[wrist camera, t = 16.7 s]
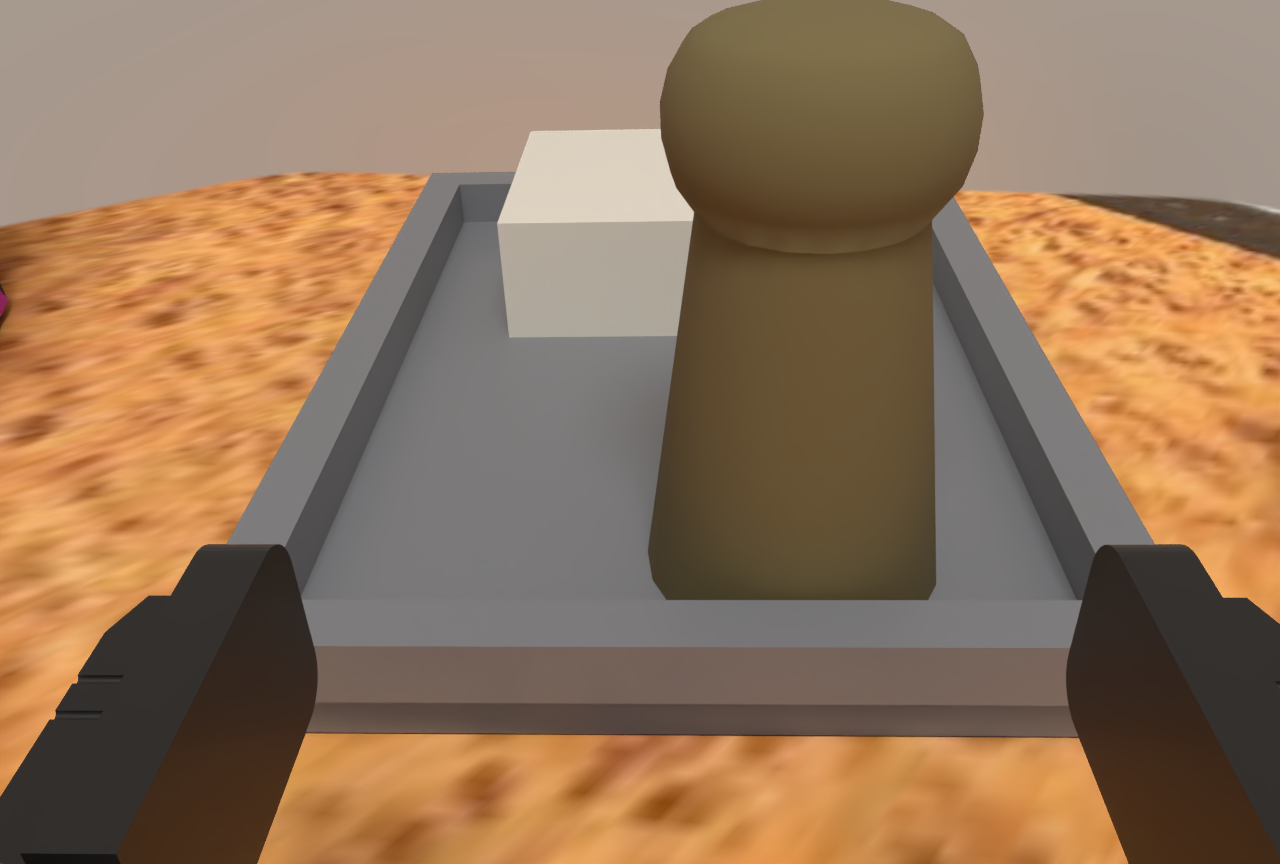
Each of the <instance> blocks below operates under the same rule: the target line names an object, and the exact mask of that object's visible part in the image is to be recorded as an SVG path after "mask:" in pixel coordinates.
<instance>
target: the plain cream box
mask: <svg viewBox="0 0 1280 864" xmlns="http://www.w3.org/2000/svg"><path fill="white" fill-rule="evenodd" d="M693 216H694V211H693V210H692V209H691V207H690V206H689V205H688V203H687V202H686V201H685V199H684V198H683V197H682V195H681V194H680V192H679V191H678V190H677V188H676V186H675V183H674V180H673V178H672V175H671V172H670V169H669V165H668V161H667V158H666V154H665V150H664V147H663V143H662V139H661V129H635V130H634V129H633V130H575V131H531V133H530V135H529V138H528V141H527V144H526V146H525V149H524V152H523V155H522V157H521V160H520V163H519V165H518V168H517V171H516V174H515V176H514V179H513V182H512V184H511V187H510V190H509V193H508V195H507V198H506V201H505V203H504V206H503V209H502V212H501V214H500V217H499V220H498V222H497V227H498V237H499V246H500V256H501V265H502V275H503V285H504V294H505V304H506V313H507V323H508V332H509V338H512V337H621V336H677V333H678V326H679V318H680V311H681V304H682V296H683V289H684V282H685V274H686V267H687V260H688V252H689V245H690V238H691V230H692V223H693Z"/></svg>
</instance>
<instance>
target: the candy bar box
mask: <svg viewBox="0 0 1280 864" xmlns="http://www.w3.org/2000/svg"><path fill="white" fill-rule="evenodd" d="M7 304H8V298H7V296H6V294H5V293H4V291H3V289H2V286H1V284H0V317H1V315H2V313H3V312H4V310H5V308H6V306H7Z"/></svg>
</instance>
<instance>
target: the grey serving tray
mask: <svg viewBox="0 0 1280 864" xmlns="http://www.w3.org/2000/svg"><path fill="white" fill-rule="evenodd" d="M515 174H516V172H484V173H483V172H481V173H432V174H431V176H430V178H429V180H428V181H427V183H426V185H425V187H424V189H423V190H422V192H421V194H420V196H419V198H418V199H417V201H416V203H415V205H414V207H413V208H412V210H411V212H410V214H409V216H408V217H407V219H406V221H405V223H404V225H403V226H402V228H401V230H400V232H399V234H398V236H397V237H396V239H395V241H394V243H393V245H392V246H391V248H390V250H389V252H388V254H387V255H386V257H385V259H384V261H383V263H382V264H381V266H380V268H379V270H378V272H377V273H376V275H375V277H374V279H373V281H372V282H371V284H370V286H369V288H368V290H367V291H366V293H365V295H364V297H363V299H362V300H361V302H360V304H359V306H358V308H357V309H356V311H355V313H354V315H353V317H352V318H351V320H350V322H349V324H348V326H347V328H346V329H345V331H344V333H343V335H342V337H341V338H340V340H339V342H338V344H337V346H336V347H335V349H334V351H333V353H332V355H331V356H330V358H329V360H328V362H327V364H326V365H325V367H324V369H323V371H322V373H321V374H320V376H319V378H318V380H317V382H316V383H315V385H314V387H313V389H312V391H311V392H310V394H309V396H308V398H307V400H306V401H305V403H304V405H303V407H302V409H301V410H300V412H299V414H298V416H297V418H296V420H295V421H294V423H293V425H292V427H291V429H290V430H289V432H288V434H287V436H286V438H285V439H284V441H283V443H282V445H281V447H280V448H279V450H278V452H277V454H276V456H275V457H274V459H273V461H272V463H271V465H270V466H269V468H268V470H267V472H266V474H265V475H264V477H263V479H262V481H261V483H260V484H259V486H258V488H257V490H256V492H255V493H254V495H253V497H252V499H251V501H250V502H249V504H248V506H247V508H246V510H245V512H244V513H243V515H242V517H241V519H240V521H239V522H238V524H237V526H236V528H235V530H234V531H233V533H232V535H231V537H230V539H229V540H228V542H227V544H280V545H282V546H284V547H285V548H286V550H287V551H288V553H289V555H290V558H291V561H292V564H293V568H294V572H295V576H296V580H297V583H298V587H299V591H300V595H301V599H302V603H303V606H304V610H305V614H306V618H307V622H308V626H309V629H310V633H311V637H312V641H313V645H314V648H315V653H316V658H317V668H318V683H317V694H316V701H315V706H314V710H313V714H312V717H311V720H310V723H309V725H308V728H307V731H306V732H334V733H505V734H675V735H846V736H1016V737H1079V736H1078V734H1077V731H1076V729H1075V726H1074V724H1073V721H1072V718H1071V714H1070V710H1069V705H1068V699H1067V690H1066V667H1067V659H1068V654H1069V651H1070V647H1071V643H1072V639H1073V635H1074V631H1075V627H1076V623H1077V619H1078V616H1079V612H1080V608H1081V604H1082V600H1083V596H1084V592H1085V588H1086V585H1087V581H1088V577H1089V573H1090V569H1091V565H1092V562H1093V559H1094V556H1095V554H1096V552H1097V551H1098V549H1099V548H1100V547H1101V546H1103V545H1155V544H1154V542H1153V540H1152V539H1151V537H1150V535H1149V533H1148V532H1147V530H1146V528H1145V526H1144V525H1143V523H1142V521H1141V520H1140V518H1139V516H1138V514H1137V513H1136V511H1135V509H1134V507H1133V506H1132V504H1131V502H1130V501H1129V499H1128V497H1127V495H1126V494H1125V492H1124V490H1123V488H1122V487H1121V485H1120V483H1119V482H1118V480H1117V478H1116V476H1115V475H1114V473H1113V471H1112V469H1111V468H1110V466H1109V464H1108V463H1107V461H1106V459H1105V457H1104V456H1103V454H1102V452H1101V450H1100V449H1099V447H1098V445H1097V444H1096V442H1095V440H1094V438H1093V437H1092V435H1091V433H1090V431H1089V430H1088V428H1087V426H1086V425H1085V423H1084V421H1083V419H1082V418H1081V416H1080V414H1079V412H1078V411H1077V409H1076V407H1075V406H1074V404H1073V402H1072V400H1071V399H1070V397H1069V395H1068V393H1067V392H1066V390H1065V388H1064V387H1063V385H1062V383H1061V381H1060V380H1059V378H1058V376H1057V374H1056V373H1055V371H1054V369H1053V368H1052V366H1051V364H1050V362H1049V361H1048V359H1047V357H1046V355H1045V354H1044V352H1043V350H1042V349H1041V347H1040V345H1039V343H1038V342H1037V340H1036V338H1035V336H1034V335H1033V333H1032V331H1031V329H1030V328H1029V326H1028V324H1027V323H1026V321H1025V319H1024V317H1023V316H1022V314H1021V312H1020V310H1019V309H1018V307H1017V305H1016V304H1015V302H1014V300H1013V298H1012V297H1011V295H1010V293H1009V291H1008V290H1007V288H1006V286H1005V285H1004V283H1003V281H1002V279H1001V278H1000V276H999V274H998V272H997V271H996V269H995V267H994V266H993V264H992V262H991V260H990V259H989V257H988V255H987V253H986V252H985V250H984V248H983V247H982V245H981V243H980V241H979V240H978V238H977V236H976V234H975V233H974V231H973V229H972V228H971V226H970V224H969V222H968V221H967V219H966V217H965V215H964V214H963V212H962V210H961V209H960V207H959V205H958V203H957V202H956V200H955V198H954V197H953V198H952V199H951V200H950V201H949V202H948V203H947V204H946V205H945V207H944V208H943V209H942V210H941V211H940V212H939V213H938V214H937V215H936V216H935V217H934V218H933V220H932V250H933V338H934V427H935V515H936V586H935V588H934V590H933V592H932V594H931V595H930V597H929V599H928V600H666V598H665V597H664V596H663V594H662V593H661V591H660V590H659V588H658V587H657V586H656V584H655V583H654V581H653V579H652V573H651V567H650V562H649V556H648V545H649V538H650V530H651V523H652V516H653V508H654V501H655V494H656V486H657V479H658V472H659V465H660V457H661V450H662V443H663V435H664V428H665V421H666V413H667V406H668V399H669V391H670V384H671V377H672V369H673V362H674V355H675V347H676V340H677V336H621V337H512V338H509V332H508V323H507V313H506V304H505V294H504V285H503V275H502V265H501V256H500V246H499V237H498V227H497V222H498V220H499V217H500V214H501V212H502V209H503V206H504V203H505V201H506V198H507V195H508V193H509V190H510V187H511V184H512V182H513V179H514V176H515Z"/></svg>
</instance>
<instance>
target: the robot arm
mask: <svg viewBox="0 0 1280 864" xmlns="http://www.w3.org/2000/svg"><path fill="white" fill-rule="evenodd" d="M317 683H318V668H317V658H316V653H315V648H314V645H313V641H312V637H311V633H310V629H309V626H308V622H307V618H306V614H305V610H304V606H303V603H302V599H301V595H300V591H299V587H298V583H297V580H296V576H295V572H294V568H293V564H292V561H291V558H290V555H289V553H288V551H287V550H286V548H285V547H284V546H282V545H280V544H208V545H204V546H203V547H201V548H200V549H199V550H198V551H197V552H196V554H195V555H194V557H193V559H192V560H191V562H190V564H189V565H188V567H187V569H186V570H185V572H184V574H183V576H182V577H181V579H180V581H179V582H178V584H177V586H176V588H175V589H174V591H173V593H172V594H171V596H148V597H147V598H145V599H144V600H143V601H142V602H141V603H140V604H138V605H137V606H136V607H135V608H134V609H132V610H131V611H130V612H129V613H128V614H126V615H125V616H124V617H123V618H122V619H120V620H119V621H118V622H117V623H116V624H114V625H113V626H112V627H111V628H110V629H108V630H107V631H106V632H105V633H104V635H103V636H102V638H101V639H100V641H99V643H98V644H97V646H96V647H95V649H94V650H93V652H92V654H91V655H90V657H89V658H88V660H87V661H86V663H85V665H84V666H83V668H82V669H81V671H80V672H79V674H78V682H77V684H72V685H71V687H70V688H69V690H68V691H67V693H66V695H65V696H64V698H63V699H62V701H61V702H60V704H59V706H58V707H57V709H56V710H55V711H56V717H55V719H54V720H49V721H48V723H47V724H46V726H45V728H44V729H43V731H42V732H41V734H40V735H39V737H38V739H37V740H36V742H35V743H34V745H33V747H32V748H31V750H30V751H29V753H28V754H27V756H26V758H25V759H24V761H23V762H22V764H21V765H20V767H19V769H18V770H17V772H16V773H15V775H14V776H13V778H12V780H11V781H10V783H9V784H8V786H7V787H6V789H5V791H4V792H3V794H2V795H1V797H0V864H257V862H258V860H259V857H260V854H261V852H262V849H263V846H264V844H265V841H266V838H267V836H268V833H269V830H270V828H271V825H272V822H273V819H274V817H275V814H276V811H277V809H278V806H279V803H280V801H281V798H282V795H283V793H284V790H285V787H286V785H287V782H288V779H289V776H290V774H291V771H292V768H293V766H294V763H295V760H296V758H297V755H298V752H299V750H300V747H301V744H302V741H303V739H304V736H305V733H306V731H307V728H308V725H309V723H310V720H311V717H312V714H313V710H314V706H315V701H316V694H317ZM1066 690H1067V699H1068V705H1069V710H1070V714H1071V718H1072V721H1073V724H1074V726H1075V729H1076V731H1077V734H1078V736H1079V739H1080V742H1081V744H1082V747H1083V749H1084V752H1085V754H1086V757H1087V759H1088V762H1089V764H1090V767H1091V769H1092V772H1093V774H1094V777H1095V779H1096V782H1097V785H1098V787H1099V790H1100V792H1101V795H1102V797H1103V800H1104V802H1105V805H1106V807H1107V810H1108V812H1109V815H1110V817H1111V820H1112V822H1113V825H1114V828H1115V830H1116V833H1117V835H1118V838H1119V840H1120V843H1121V845H1122V848H1123V850H1124V853H1125V855H1126V858H1127V860H1128V863H1129V864H1280V624H1279V623H1278V622H1276V621H1275V620H1274V619H1273V618H1271V617H1270V616H1269V615H1268V614H1266V613H1265V612H1264V611H1263V610H1261V609H1260V608H1259V607H1258V606H1256V605H1255V604H1254V603H1253V602H1251V601H1250V600H1249V599H1247V598H1223V597H1222V596H1221V594H1220V592H1219V591H1218V589H1217V588H1216V586H1215V584H1214V583H1213V581H1212V580H1211V578H1210V576H1209V575H1208V573H1207V572H1206V570H1205V568H1204V567H1203V565H1202V564H1201V562H1200V560H1199V559H1198V557H1197V556H1196V554H1195V553H1194V552H1193V551H1192V550H1191V549H1190V548H1189V547H1187V546H1185V545H1181V544H1157V545H1103V546H1101V547H1100V548H1099V549H1098V551H1097V552H1096V554H1095V556H1094V559H1093V562H1092V565H1091V569H1090V573H1089V577H1088V581H1087V585H1086V588H1085V592H1084V596H1083V600H1082V604H1081V608H1080V612H1079V616H1078V619H1077V623H1076V627H1075V631H1074V635H1073V639H1072V643H1071V647H1070V651H1069V654H1068V659H1067V667H1066Z"/></svg>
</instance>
